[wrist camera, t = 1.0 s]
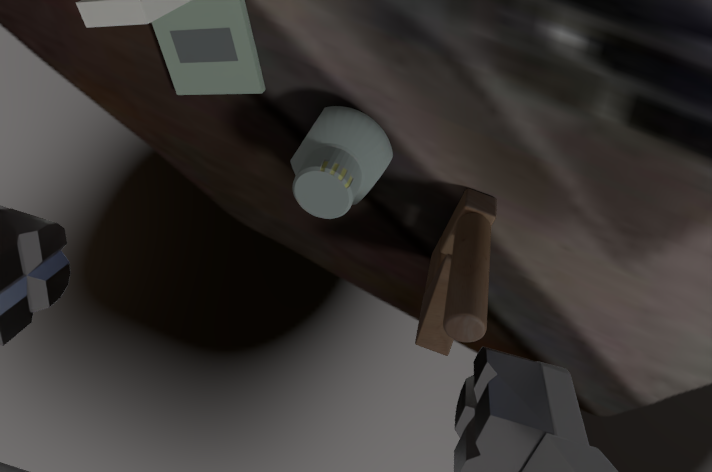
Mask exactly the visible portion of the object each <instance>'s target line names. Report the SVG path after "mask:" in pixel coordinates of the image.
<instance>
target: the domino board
mask: <svg viewBox="0 0 712 472" xmlns="http://www.w3.org/2000/svg"><path fill="white" fill-rule="evenodd" d="M152 25H153V28H154V31H155V33H156V36H157V39H158V42H159V45H160V48H161V50H162V53H163V56H164V59H165V62H166V65H167V67H168V70H169V73H170V76H171V79H172V82H173V84H174V87H175V90H176V93H177V95H199V94H255V93H263V92H264V91H265V90H266V89H265V85H264V81H263V77H262V72H261V68H260V64H259V60H258V55H257V51H256V47H255V43H254V38H253V34H252V30H251V26H250V22H249V17H248V13H247V9H246V5H245V0H191V1H189V2H188V3H186V4H184V5H182V6H180V7H178V8H177V9H175V10H173V11H171V12H169V13H167V14H165V15H164V16H162V17H160V18H158V19H156V20H154V21H153V22H152Z"/></svg>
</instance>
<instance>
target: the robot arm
mask: <svg viewBox="0 0 712 472" xmlns="http://www.w3.org/2000/svg"><path fill="white" fill-rule="evenodd" d="M66 244H67V241H66V234H65V229H64V228H63V227H62V226H60V225H59V224H58V223H55V222H52V221H49V220H46V219H43V218H39V217H36V216H33V215H30V214H27V213H23V212H20V211H17V210H14V209H9V208H6V207H3V206H0V345H2V346H4V345H5V344H6V343H7V342H9V341H10V340H11V339H12V338H13V337H15V336H16V335H17V334H18V333H19V332H21V331H22V330H23V329H24V328H25V327H27V326H28V325H29V324H30V323H31V322H32V316H33V312H36V311H39V310H43V309H46V308H49V307H50V306H51V305H53V304H54V303H55V302H56V301H57V300H58V299H60V298H61V296H62V294H63V292H64V291H65V289H66V287H67V286H68V283H69V277H70V263H69V261H68V260H67V258H66V257H65V256H64V254H63V253H62V251H61V250H62V249H63V247H64V246H65V245H66ZM455 431H456V432H457V434H458V435H459V437H460V440H459V442H458V444H457V446H456V448H455V450H454V472H618V471H617V470H616V469H615V467H614V466H613V465H612V464H611V463H610V462H609V461H608V459H607V458H606V457H605V456H604V455H603V454H602V453H601V451H600V450H599V449H598V448H595V447H591V446H589V443H588V439H587V436H586V432H585V428H584V425H583V420H582V417H581V413H580V409H579V405H578V402H577V398H576V394H575V390H574V387H573V383H572V379H571V375H570V373H569V372H568V370H567V369H565V368H561V367H557V366H554V365H550V364H546V363H542V362H539V361H538V362H535V361H532V360H529V359H525V358H522V357H518V356H515V355H511V354H508V353H504V352H501V351H497V350H493V349H490V348H486V347H482V348H481V349H480V351H479V352H478V354H477V356H476V358H475V360H474V375H473V376H471V377H469V378H467V379H466V380H465V382H464V385H463V387H462V389H461V392H460V396H459V399H458V403H457V408H456V415H455ZM0 472H29V471H26V470H23V469H19V468H17V467H13V466H10V465H7V464H4V463H1V462H0Z"/></svg>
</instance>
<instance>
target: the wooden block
mask: <svg viewBox="0 0 712 472" xmlns="http://www.w3.org/2000/svg"><path fill="white" fill-rule="evenodd" d="M496 206H497V199H496V198H494V197H491V196H488V195H486V194H483V193H480V192H477V191H475V190H472V189H469V188H467V189H466V190H465V192H464V193H463V195H462V197H461V199H460V201H459V203H458V205H457V207H456V209H455V211H454V213H453V214H452V216H451V218H450V220H449V222H448V224H447V226H446V228H445V230H444V232H443V234H442V236H441V237H440V239H439V241H438V243H437V245H436V247H435V249H434V251H433V253H432V256H431V261H430V267H429V272H428V278H427V283H426V289H425V294H424V297H423V303H422V308H421V314H420V319H419V325H418V330H417V336H416V342H415V344H416V345H419V346H421V347H424V348H427V349H430V350H432V351H435V352H438V353H441V354H443V355H446V356H448V354H449V352H450V349H451V346H452V343H453V340H454V339H455V340H457V341H461V342H473V341H477V340H479V339H480V338H482V337H483V336H484V334H485V332H486V328H487V306H488V284H489V262H490V240H491V225H492V224H493V222H494V220H495V219H496Z"/></svg>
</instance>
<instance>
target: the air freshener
mask: <svg viewBox="0 0 712 472" xmlns="http://www.w3.org/2000/svg"><path fill="white" fill-rule="evenodd" d="M392 157H393V153H392V148H391V145H390V142H389V139H388V137H387V136H386V134H385V132H384V131H383V129H382V128H381V127H380V126H379V125H378V124H377V123H376V122H375V121H374V120H373V119H372V118H370V117H369V116H368V115H366V114H364V113H362V112H360V111H358V110H355V109H352V108H349V107H343V106H330V107H325V108H324V110H323V111H322V113H321V114H320V116H319V117H318V119H317V120H316V122H315V123H314V125H313V126H312V128H311V130H310V131H309V133H308V134H307V136H306V137H305V139H304V140H303V142H302V143H301V145H300V147H299V148H298V150H297V151H296V153H295V154H294V156H293V157H292V159H291V165H292V168H293V170H294V173H295V175H296V177H295V179H294V182H293V193H294V196H295V198H296V200H297V201H298V203H299V205H300V206H301V207H302V208H303V209H305V210H306V211H307V212H308V213H310V214H312V215H314V216H317V217H321V218H325V219H332V218H338V217H340V216H342V215H344V214H345V213H346V212H347V211H348V210H349V209H350V207H351V205H352V204H357V203H358V202H359V201H361V200H362V199H363V197H364V196H365V195H366V194H367V193H368V192H369V191H370V190H371V188H372V187H373V186H374V185H375V183H376V182H377V181H378V179H379V178H380V177H381V175H382V174H383V172H384V171H385V169H386V168H387V166H388V165H389V163H390V161H391V159H392Z"/></svg>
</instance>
